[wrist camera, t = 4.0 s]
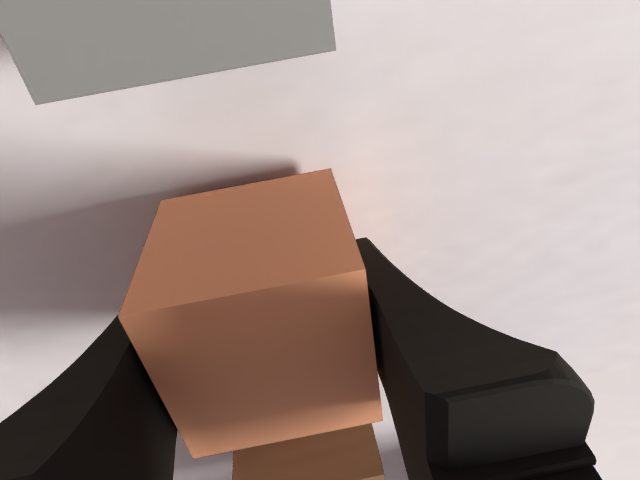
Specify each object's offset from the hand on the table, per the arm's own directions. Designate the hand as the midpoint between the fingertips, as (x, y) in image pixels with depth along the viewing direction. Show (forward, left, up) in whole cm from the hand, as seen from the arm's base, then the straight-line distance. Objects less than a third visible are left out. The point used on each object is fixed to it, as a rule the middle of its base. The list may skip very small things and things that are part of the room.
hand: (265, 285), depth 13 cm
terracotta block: (0, 0, -2) cm, 2 cm away
